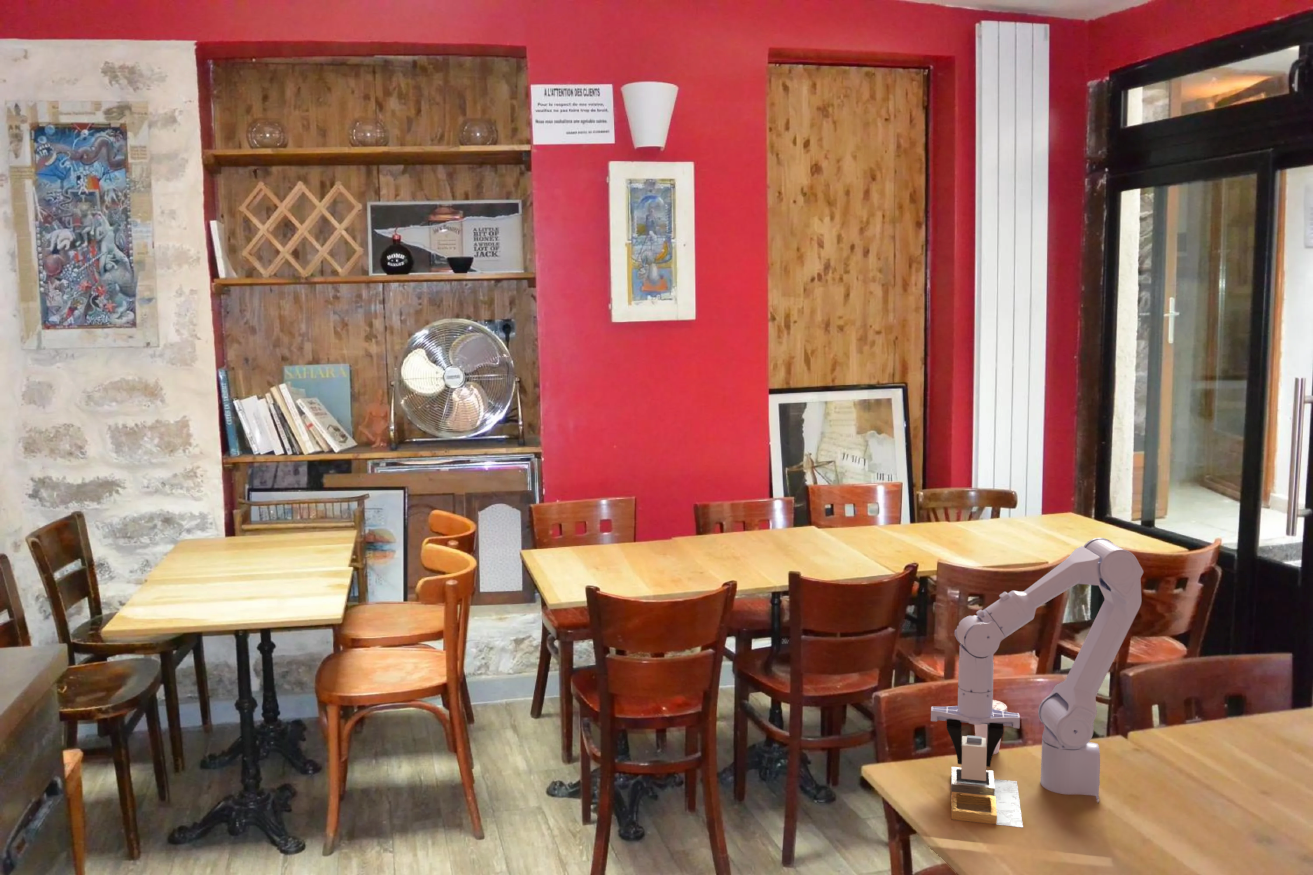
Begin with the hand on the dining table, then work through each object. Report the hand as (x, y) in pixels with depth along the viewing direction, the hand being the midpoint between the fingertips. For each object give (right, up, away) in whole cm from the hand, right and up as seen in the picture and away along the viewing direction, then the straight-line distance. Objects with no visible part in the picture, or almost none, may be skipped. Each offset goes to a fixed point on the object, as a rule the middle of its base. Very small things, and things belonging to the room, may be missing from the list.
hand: (973, 763), depth 190 cm
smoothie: (+7, -3, +15) cm, 17 cm away
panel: (+1, -6, -5) cm, 7 cm away
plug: (0, -2, 0) cm, 2 cm away
